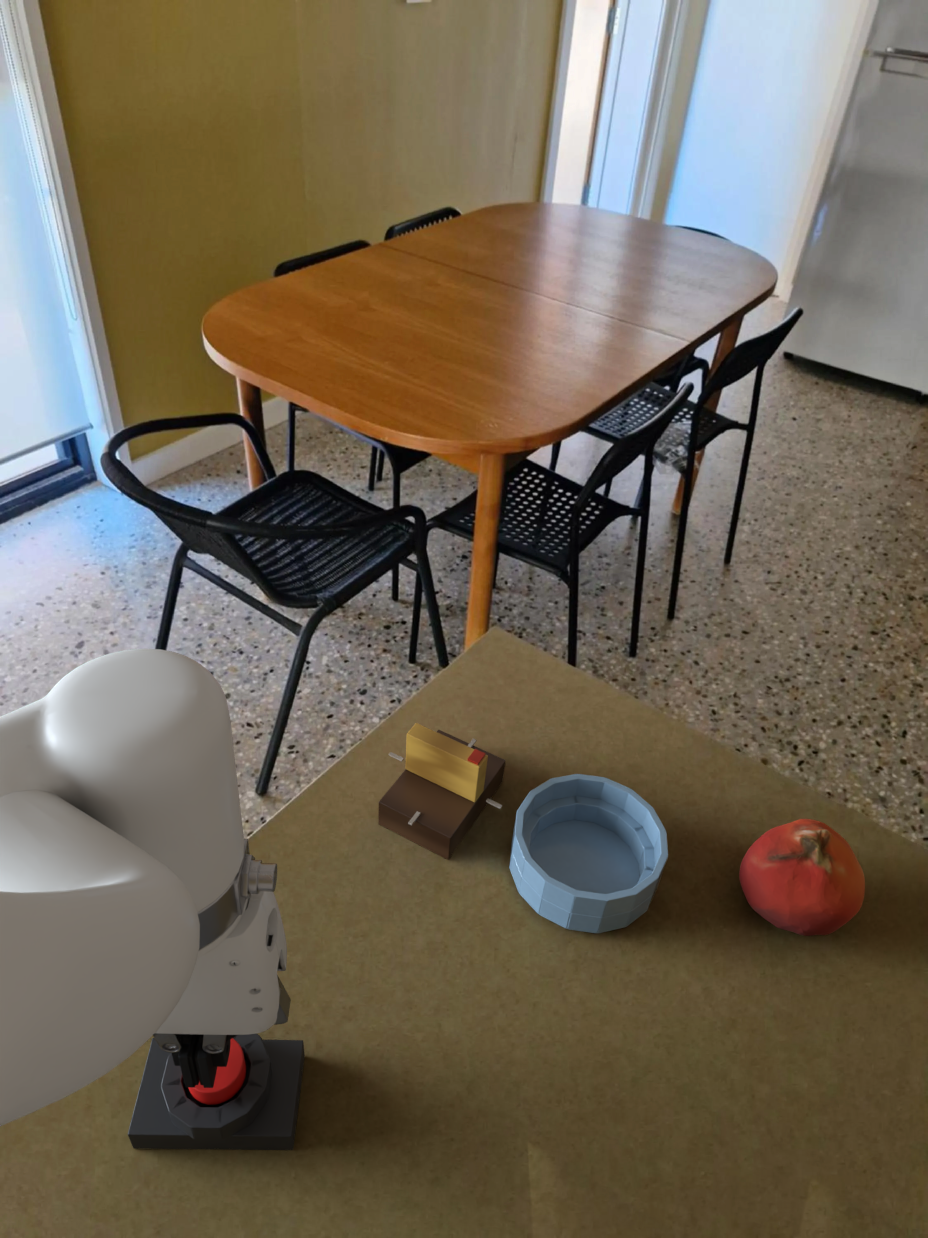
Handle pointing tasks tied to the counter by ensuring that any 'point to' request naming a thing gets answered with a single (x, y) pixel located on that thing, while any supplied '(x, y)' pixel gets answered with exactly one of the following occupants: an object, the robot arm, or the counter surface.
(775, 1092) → the counter surface
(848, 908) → the tomato
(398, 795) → the base
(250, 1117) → the button box
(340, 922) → the counter surface
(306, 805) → the counter surface
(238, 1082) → the button
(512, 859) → the basin
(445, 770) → the yellow block red tip
